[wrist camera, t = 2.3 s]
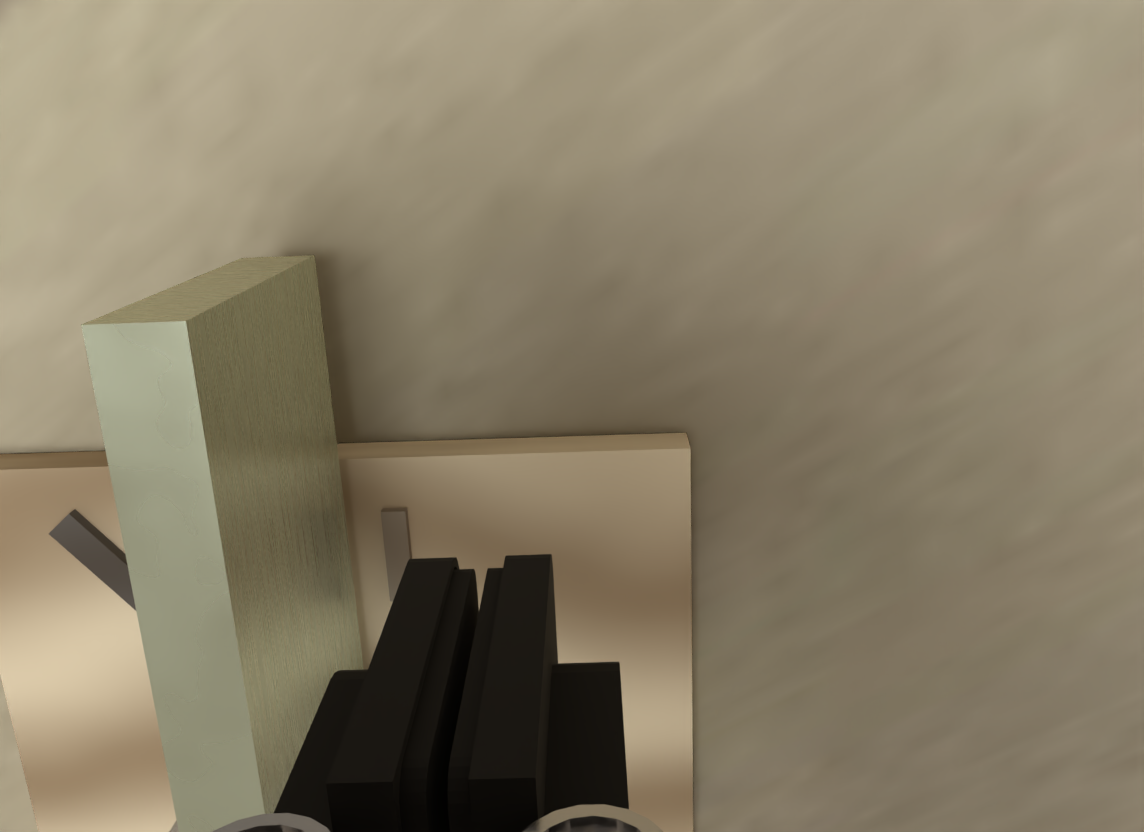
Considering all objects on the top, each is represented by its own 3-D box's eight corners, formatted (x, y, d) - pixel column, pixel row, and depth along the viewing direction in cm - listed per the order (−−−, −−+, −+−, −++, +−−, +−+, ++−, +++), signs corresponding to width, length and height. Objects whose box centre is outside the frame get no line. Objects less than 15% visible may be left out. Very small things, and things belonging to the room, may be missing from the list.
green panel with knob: (492, 889, 27) (454, 1170, 20) (240, 893, 27) (113, 1171, 20) (441, 247, 22) (363, 314, 15) (131, 259, 22) (-94, 331, 15)
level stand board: (690, 997, 30) (695, 1041, 28) (107, 1003, 31) (83, 1046, 29) (686, 432, 25) (691, 452, 23) (-20, 455, 25) (-58, 475, 24)
